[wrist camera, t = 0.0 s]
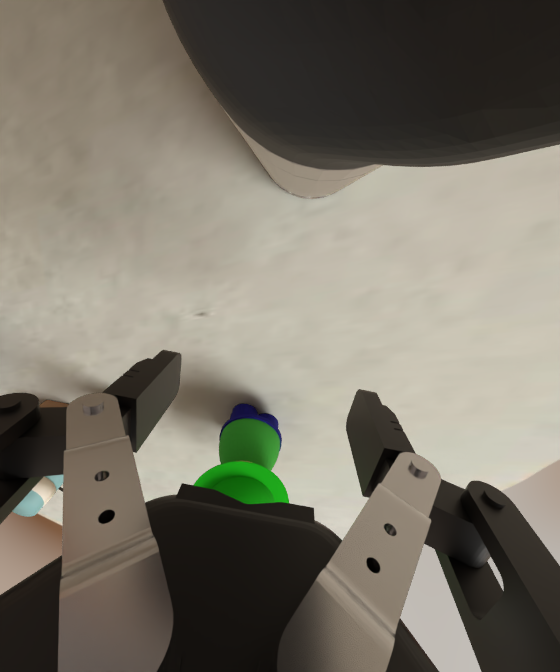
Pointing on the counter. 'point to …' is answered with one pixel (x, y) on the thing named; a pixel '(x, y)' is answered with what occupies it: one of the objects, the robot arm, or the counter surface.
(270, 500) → the toy
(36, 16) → the counter surface
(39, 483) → the teal capped tube
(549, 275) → the counter surface
